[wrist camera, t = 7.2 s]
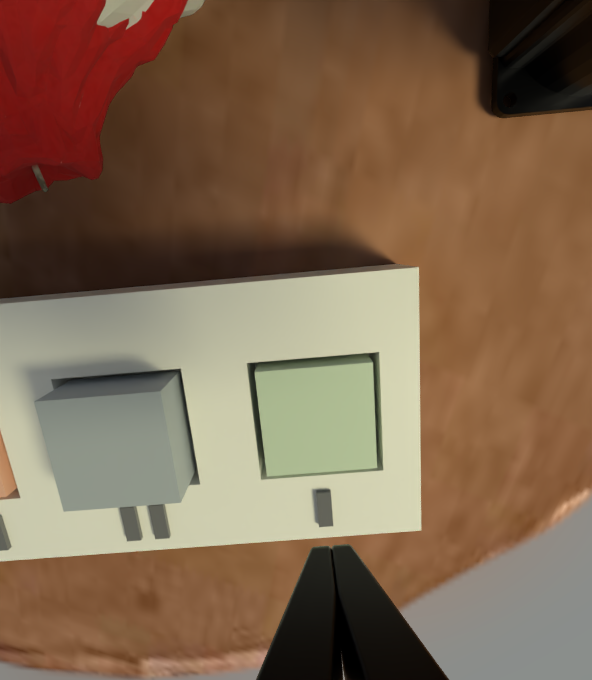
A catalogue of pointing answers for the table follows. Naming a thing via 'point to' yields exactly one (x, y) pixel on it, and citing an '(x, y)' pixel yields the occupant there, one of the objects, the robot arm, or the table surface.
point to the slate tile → (118, 441)
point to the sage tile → (317, 414)
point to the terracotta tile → (5, 472)
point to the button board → (215, 406)
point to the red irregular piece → (69, 81)
